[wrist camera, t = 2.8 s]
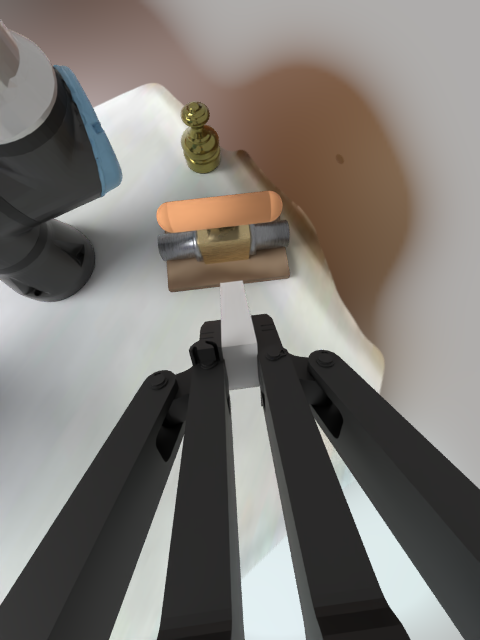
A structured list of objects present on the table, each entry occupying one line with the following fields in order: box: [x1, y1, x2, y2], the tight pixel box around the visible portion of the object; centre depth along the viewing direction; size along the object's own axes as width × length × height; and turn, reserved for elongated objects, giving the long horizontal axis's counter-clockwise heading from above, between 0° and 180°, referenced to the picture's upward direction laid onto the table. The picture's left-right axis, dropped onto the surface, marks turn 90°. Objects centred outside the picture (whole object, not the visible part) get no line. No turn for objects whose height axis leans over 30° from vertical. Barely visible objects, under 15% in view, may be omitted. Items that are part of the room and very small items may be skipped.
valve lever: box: [157, 191, 283, 233], centre depth 27 cm, size 3×12×16 cm
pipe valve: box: [158, 216, 290, 292], centre depth 39 cm, size 14×22×8 cm, turn 97°
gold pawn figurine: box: [181, 102, 221, 173], centre depth 42 cm, size 7×7×10 cm
